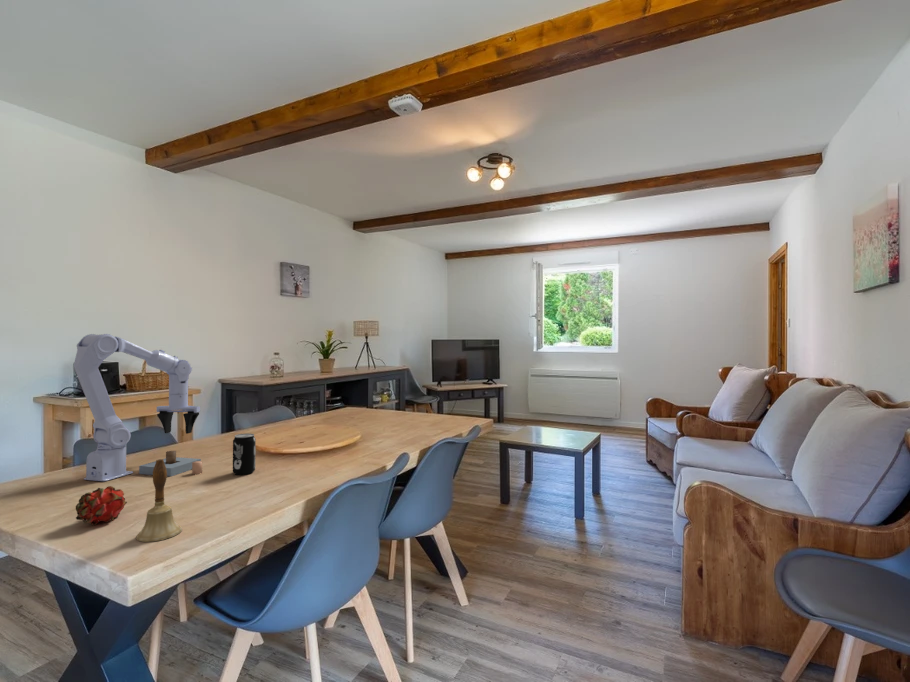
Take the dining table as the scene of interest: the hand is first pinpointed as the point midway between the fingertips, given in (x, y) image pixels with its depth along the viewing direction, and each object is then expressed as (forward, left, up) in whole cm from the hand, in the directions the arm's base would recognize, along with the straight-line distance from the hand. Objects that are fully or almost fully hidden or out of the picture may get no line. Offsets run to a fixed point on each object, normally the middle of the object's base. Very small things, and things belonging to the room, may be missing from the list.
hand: (178, 432), depth 158 cm
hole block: (-9, -6, -10) cm, 15 cm away
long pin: (-9, -6, -10) cm, 15 cm away
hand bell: (-51, -45, -10) cm, 69 cm away
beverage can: (-6, -31, -10) cm, 34 cm away
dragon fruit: (-48, -26, -10) cm, 56 cm away
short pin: (-10, -17, -10) cm, 23 cm away
